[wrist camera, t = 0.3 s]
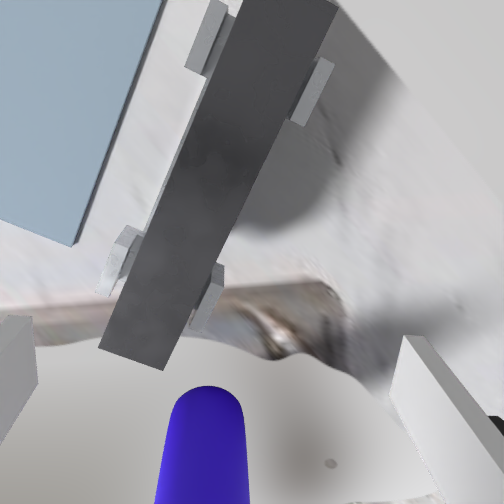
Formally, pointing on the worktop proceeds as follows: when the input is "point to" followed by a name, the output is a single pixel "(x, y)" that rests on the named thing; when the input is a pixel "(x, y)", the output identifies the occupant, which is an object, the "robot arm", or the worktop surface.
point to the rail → (215, 172)
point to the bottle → (205, 451)
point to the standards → (203, 63)
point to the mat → (63, 103)
